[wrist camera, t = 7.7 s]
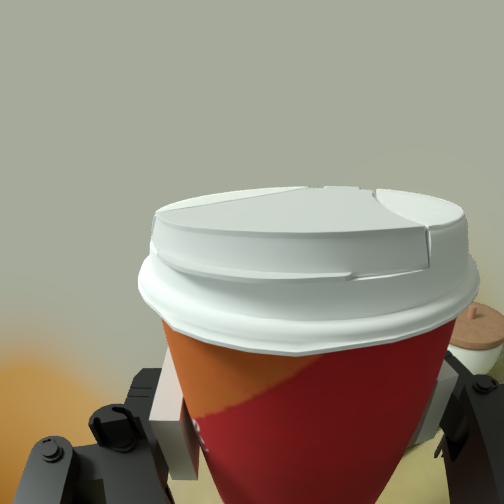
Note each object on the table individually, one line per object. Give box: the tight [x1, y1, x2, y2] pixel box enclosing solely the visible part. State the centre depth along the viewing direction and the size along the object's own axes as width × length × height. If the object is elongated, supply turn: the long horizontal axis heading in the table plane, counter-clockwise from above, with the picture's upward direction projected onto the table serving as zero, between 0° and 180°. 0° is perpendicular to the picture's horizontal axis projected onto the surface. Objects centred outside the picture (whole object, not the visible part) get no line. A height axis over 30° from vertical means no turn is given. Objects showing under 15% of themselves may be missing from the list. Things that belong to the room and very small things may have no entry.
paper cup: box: [138, 186, 480, 504], centre depth 9 cm, size 8×8×14 cm
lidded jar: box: [447, 302, 504, 375], centre depth 31 cm, size 11×11×9 cm
